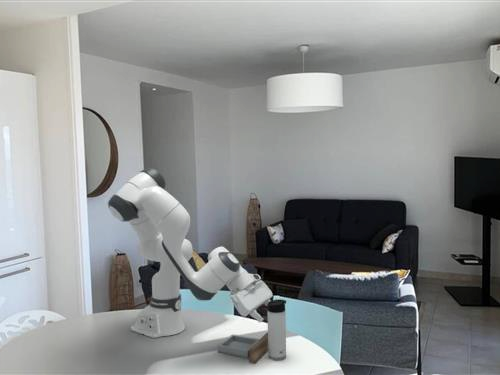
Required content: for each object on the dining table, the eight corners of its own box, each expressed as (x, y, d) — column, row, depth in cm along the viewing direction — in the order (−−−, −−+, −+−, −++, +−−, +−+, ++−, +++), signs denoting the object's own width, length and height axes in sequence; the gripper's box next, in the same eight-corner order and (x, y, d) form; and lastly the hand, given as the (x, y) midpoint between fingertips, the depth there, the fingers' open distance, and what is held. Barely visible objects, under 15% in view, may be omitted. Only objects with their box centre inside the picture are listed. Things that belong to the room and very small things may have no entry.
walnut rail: (249, 362, 150) (249, 348, 150) (270, 342, 166) (270, 329, 166) (255, 363, 149) (254, 349, 149) (275, 343, 165) (275, 330, 165)
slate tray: (217, 352, 159) (217, 345, 158) (232, 340, 168) (232, 334, 168) (247, 358, 153) (247, 351, 153) (260, 346, 163) (260, 339, 163)
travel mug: (286, 361, 151) (285, 303, 149) (267, 360, 152) (265, 303, 151) (288, 353, 157) (287, 298, 155) (269, 352, 158) (268, 297, 157)
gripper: (233, 288, 147) (260, 321, 144) (260, 273, 166) (285, 302, 162) (222, 299, 150) (248, 332, 146) (250, 283, 168) (274, 312, 164)
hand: (268, 316), depth 154 cm, fingers open, 8 cm apart
